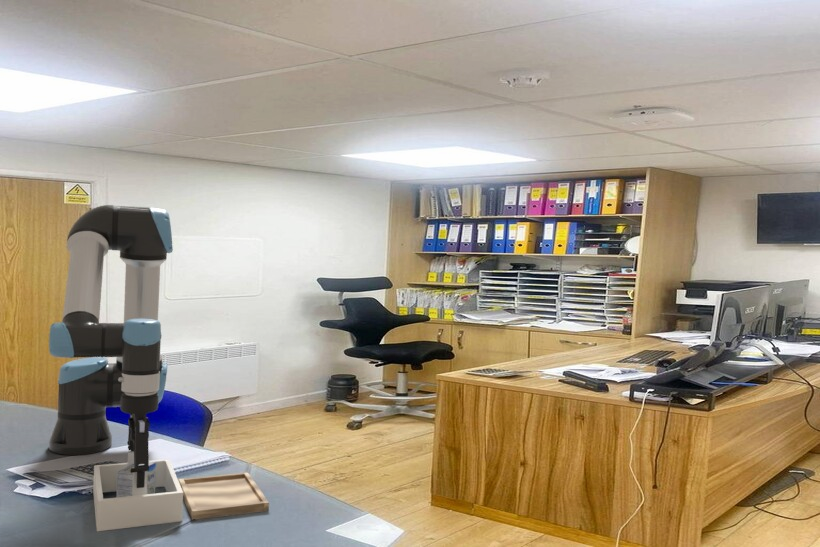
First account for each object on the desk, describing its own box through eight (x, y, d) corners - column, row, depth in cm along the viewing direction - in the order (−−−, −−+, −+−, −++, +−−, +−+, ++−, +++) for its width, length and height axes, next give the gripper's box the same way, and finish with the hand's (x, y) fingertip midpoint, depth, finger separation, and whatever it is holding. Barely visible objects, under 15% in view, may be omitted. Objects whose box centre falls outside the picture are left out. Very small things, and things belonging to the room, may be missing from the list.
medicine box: (134, 514, 147) (135, 473, 146) (115, 511, 148) (116, 471, 147) (155, 500, 154) (156, 462, 154) (137, 498, 155) (138, 459, 155)
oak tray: (178, 486, 163) (178, 478, 163) (247, 479, 170) (247, 472, 170) (192, 519, 145) (192, 511, 145) (268, 510, 152) (268, 502, 152)
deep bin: (93, 491, 157) (94, 465, 157) (168, 484, 164) (169, 459, 164) (96, 531, 138) (97, 501, 137) (182, 521, 145) (183, 492, 144)
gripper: (117, 381, 159) (113, 473, 160) (125, 406, 137) (121, 514, 138) (152, 380, 162) (148, 470, 163) (165, 404, 140) (161, 509, 141)
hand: (136, 490), depth 151 cm, fingers open, 13 cm apart
